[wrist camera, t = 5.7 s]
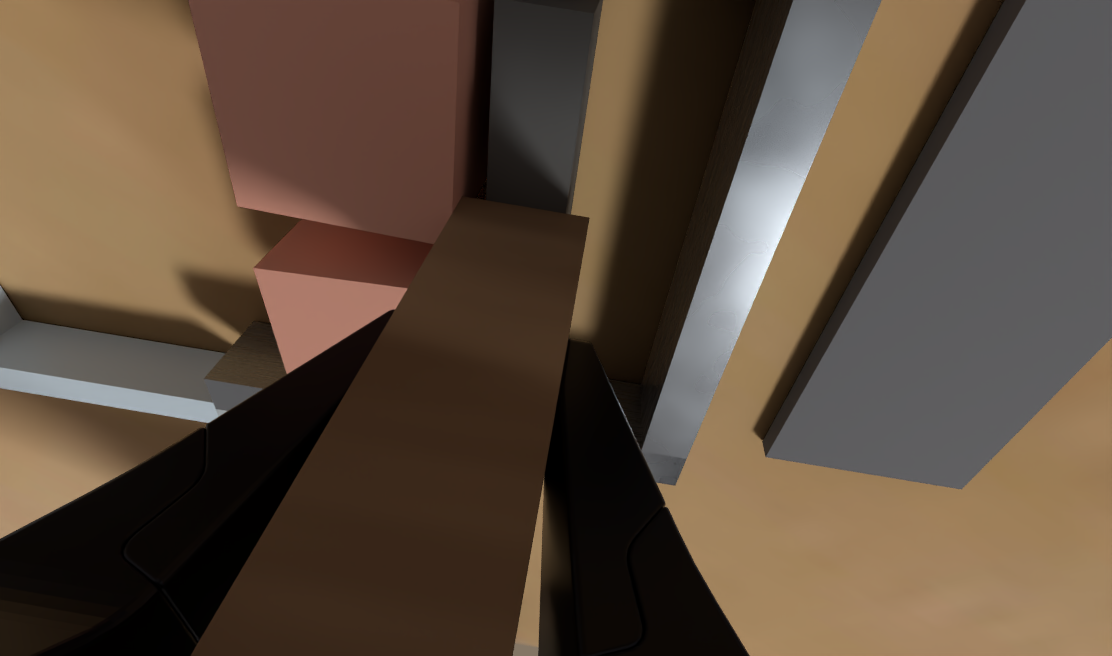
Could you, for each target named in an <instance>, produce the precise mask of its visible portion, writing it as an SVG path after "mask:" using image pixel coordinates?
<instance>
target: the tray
mask: <svg viewBox="0 0 1112 656" xmlns="http://www.w3.org/2000/svg"><path fill="white" fill-rule="evenodd" d="M225 354H226V353H221V352H215V351H209V350H203V349H197V348H191V347H184V346H178V345H172V344H166V343H160V342H154V341H148V340H142V339H136V338H130V337H124V336H118V335H112V334H106V333H99V332H93V331H87V330H81V329H75V328H69V327H63V326H57V325H51V324H45V323H39V322H33V321H27V320H22V319H21V317H20V315H19V314H18V312H17V311H16V309H15V308H14V306H13V304H12V303H11V301H10V300H9V298H8V297H7V295H6V294H5V292H4V290H3V289H2V287H1V286H0V388H2V389H8V390H14V391H20V392H26V393H32V394H38V395H44V396H50V397H56V398H62V399H68V400H74V401H80V402H86V403H92V404H98V405H104V406H110V407H116V408H122V409H128V410H134V411H140V412H146V413H152V414H158V415H164V416H170V417H176V418H182V419H188V420H194V421H200V422H206V423H209V422H211V421H212V420H214V419H216V418H217V417H219V416H220V415H222V414H224V413H225V412H227V411H225V410H219V409H216V408H215V406H214V403H213V401H212V398H211V396H210V393H209V391H208V388H207V386H206V384H205V381H204V378H205V377H206V375H207V374H208V373H209V372H210V371H211V370H212V369H213V367H214V366H215V365H216V364H217V363H218V362H219V360H220V359H221V358H222V357H223V356H224V355H225Z"/></svg>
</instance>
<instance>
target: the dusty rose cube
mask: <svg viewBox="0 0 1112 656" xmlns="http://www.w3.org/2000/svg"><path fill="white" fill-rule="evenodd" d="M188 2H189V6H190V10H191V14H192V18H193V23H194V27H195V31H196V35H197V39H198V44H199V48H200V52H201V56H202V60H203V64H204V69H205V73H206V77H207V81H208V85H209V90H210V94H211V98H212V102H213V106H214V111H215V115H216V119H217V123H218V127H219V132H220V136H221V140H222V144H223V148H224V153H225V157H226V161H227V165H228V169H229V174H230V178H231V182H232V186H233V190H234V194H235V199H236V203H237V206H239V207H244V208H249V209H254V210H259V211H265V212H270V213H275V214H280V215H285V216H291V217H296V218H301V219H306V220H311V221H316V222H322V223H327V224H332V225H337V226H342V227H348V228H353V229H358V230H363V231H368V232H374V233H379V234H384V235H389V236H394V237H399V238H405V239H410V240H415V241H420V242H425V243H431V244H434V243H435V242H436V240H437V238H438V236H439V235H440V233H441V231H442V230H443V228H444V226H445V225H446V223H447V221H448V220H449V218H450V216H451V214H452V213H453V211H454V209H455V208H456V206H457V204H458V203H459V201H460V199H461V198H462V196H464V197H470V198H476V197H477V195H478V193H479V191H480V189H481V187H482V185H483V183H484V181H485V179H486V178H487V166H488V142H489V118H490V94H491V70H492V46H493V22H494V0H188Z"/></svg>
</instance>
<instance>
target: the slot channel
mask: <svg viewBox="0 0 1112 656" xmlns="http://www.w3.org/2000/svg"><path fill="white" fill-rule="evenodd" d="M880 3H881V0H756V3H755V6H754V9H753V13H752V16H751V19H750V23H749V26H748V29H747V33H746V36H745V39H744V43H743V46H742V49H741V53H740V56H739V59H738V63H737V66H736V69H735V73H734V76H733V79H732V83H731V86H730V89H729V93H728V96H727V99H726V103H725V106H724V109H723V113H722V116H721V119H720V123H719V126H718V129H717V133H716V136H715V139H714V143H713V146H712V149H711V153H710V156H709V159H708V163H707V166H706V169H705V173H704V176H703V179H702V183H701V186H700V189H699V193H698V196H697V199H696V203H695V206H694V209H693V213H692V216H691V219H690V223H689V226H688V229H687V233H686V236H685V239H684V243H683V246H682V249H681V253H680V256H679V259H678V263H677V266H676V269H675V273H674V276H673V279H672V283H671V286H670V289H669V293H668V296H667V299H666V303H665V306H664V309H663V313H662V316H661V319H660V323H659V326H658V329H657V333H656V336H655V339H654V343H653V346H652V349H651V353H650V356H649V360H648V363H647V366H646V370H645V373H644V376H643V380H642V383H641V384H635V383H629V382H622V381H616V380H610V379H608V380H609V382H610V384H611V386H612V388H613V390H614V393H615V395H616V397H617V399H618V401H619V403H620V406H621V408H622V410H623V412H624V414H625V416H626V419H627V421H628V423H629V425H630V427H631V429H632V432H633V434H634V436H635V438H636V440H637V442H638V445H639V447H640V449H641V451H642V453H643V455H644V458H645V460H646V462H647V464H648V466H649V468H650V471H651V473H652V475H653V477H654V479H655V481H656V482H657V483H663V484H669V485H676V482H677V480H678V478H679V475H680V473H681V471H682V468H683V466H684V463H685V461H686V459H687V456H688V454H689V452H690V449H691V447H692V445H693V442H694V440H695V438H696V435H697V433H698V431H699V428H700V426H701V423H702V421H703V419H704V416H705V414H706V412H707V409H708V407H709V405H710V402H711V400H712V398H713V395H714V393H715V391H716V388H717V386H718V384H719V381H720V379H721V376H722V374H723V372H724V369H725V367H726V365H727V362H728V360H729V358H730V355H731V353H732V351H733V348H734V346H735V344H736V341H737V339H738V336H739V334H740V332H741V329H742V327H743V325H744V322H745V320H746V318H747V315H748V313H749V311H750V308H751V306H752V304H753V301H754V299H755V297H756V294H757V292H758V289H759V287H760V285H761V282H762V280H763V278H764V275H765V273H766V271H767V268H768V266H769V264H770V261H771V259H772V257H773V254H774V252H775V250H776V247H777V245H778V242H779V240H780V238H781V235H782V233H783V231H784V228H785V226H786V224H787V221H788V219H789V217H790V214H791V212H792V210H793V207H794V205H795V202H796V200H797V198H798V195H799V193H800V191H801V188H802V186H803V184H804V181H805V179H806V177H807V174H808V172H809V170H810V167H811V165H812V163H813V160H814V158H815V155H816V153H817V151H818V148H819V146H820V144H821V141H822V139H823V137H824V134H825V132H826V130H827V127H828V125H829V123H830V120H831V118H832V116H833V113H834V111H835V108H836V106H837V104H838V101H839V99H840V97H841V94H842V92H843V90H844V87H845V85H846V83H847V80H848V78H849V76H850V73H851V71H852V68H853V66H854V64H855V61H856V59H857V57H858V54H859V52H860V50H861V47H862V45H863V43H864V40H865V38H866V36H867V33H868V31H869V29H870V26H871V24H872V21H873V19H874V17H875V14H876V12H877V10H878V7H879V5H880ZM286 374H287V373H286V370H285V367H284V363H283V360H282V357H281V354H280V351H279V348H278V345H277V341H276V338H275V335H274V332H273V329H272V326H271V324H268V323H262V322H256V321H253V322H252V324H251V325H250V326H249V327H248V328H247V329H246V331H245V332H244V333H243V334H242V335H241V336H240V337H239V339H238V340H237V341H236V342H235V343H234V344H233V345H232V347H231V348H230V349H229V350H228V351H227V352H226V354H225V355H224V356H223V357H222V358H221V359H220V360H219V362H218V363H217V364H216V365H215V366H214V367H213V369H212V370H211V371H210V372H209V373H208V374H207V375H206V377H205V378H204V381H205V384H206V386H207V388H208V391H209V393H210V396H211V398H212V401H213V403H214V406H215V408H216V409H219V410H225V411H228V410H230V409H232V408H233V407H235V406H236V405H238V404H240V403H241V402H243V401H244V400H246V399H248V398H249V397H251V396H253V395H254V394H256V393H257V392H259V391H261V390H262V389H264V388H265V387H267V386H269V385H270V384H272V383H273V382H275V381H277V380H278V379H280V378H281V377H283V376H285V375H286Z"/></svg>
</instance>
